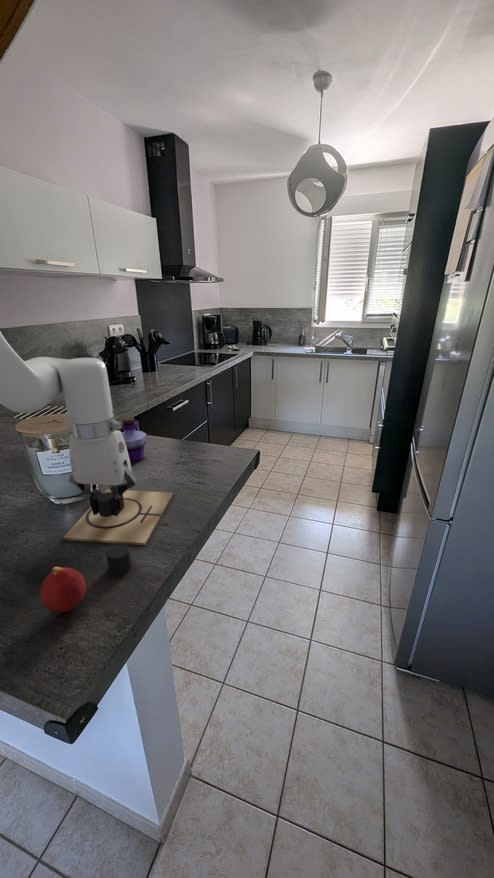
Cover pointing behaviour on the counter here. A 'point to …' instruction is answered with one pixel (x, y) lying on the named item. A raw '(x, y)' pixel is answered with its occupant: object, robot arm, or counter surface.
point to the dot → (105, 504)
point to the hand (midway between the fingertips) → (108, 510)
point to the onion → (62, 589)
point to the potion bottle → (133, 439)
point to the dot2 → (118, 559)
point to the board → (123, 520)
